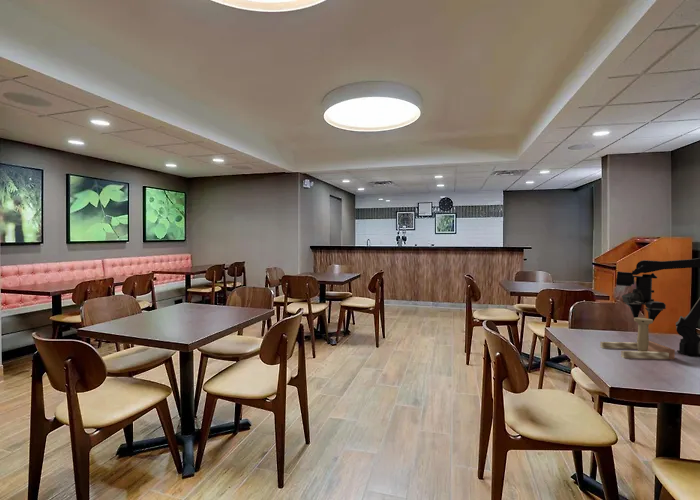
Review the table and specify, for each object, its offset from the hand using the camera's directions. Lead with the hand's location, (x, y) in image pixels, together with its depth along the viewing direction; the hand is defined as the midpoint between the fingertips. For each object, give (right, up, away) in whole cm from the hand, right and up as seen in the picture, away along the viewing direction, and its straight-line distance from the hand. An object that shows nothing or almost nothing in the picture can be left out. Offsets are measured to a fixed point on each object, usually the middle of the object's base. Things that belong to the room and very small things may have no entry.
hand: (642, 321), depth 168 cm
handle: (-8, -12, -9) cm, 17 cm away
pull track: (-11, -12, -9) cm, 19 cm away
